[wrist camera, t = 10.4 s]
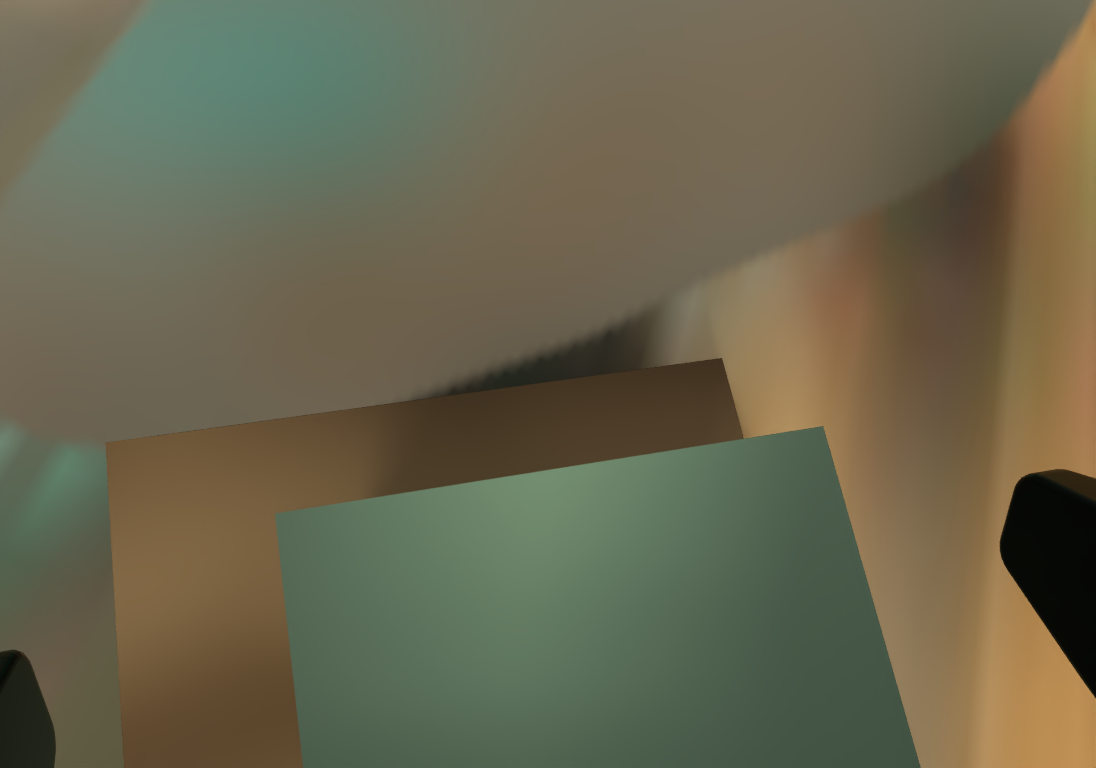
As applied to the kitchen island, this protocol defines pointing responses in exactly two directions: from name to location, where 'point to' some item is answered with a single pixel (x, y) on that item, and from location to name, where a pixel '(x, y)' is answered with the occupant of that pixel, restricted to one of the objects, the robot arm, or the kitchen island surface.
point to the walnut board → (311, 481)
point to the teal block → (595, 619)
